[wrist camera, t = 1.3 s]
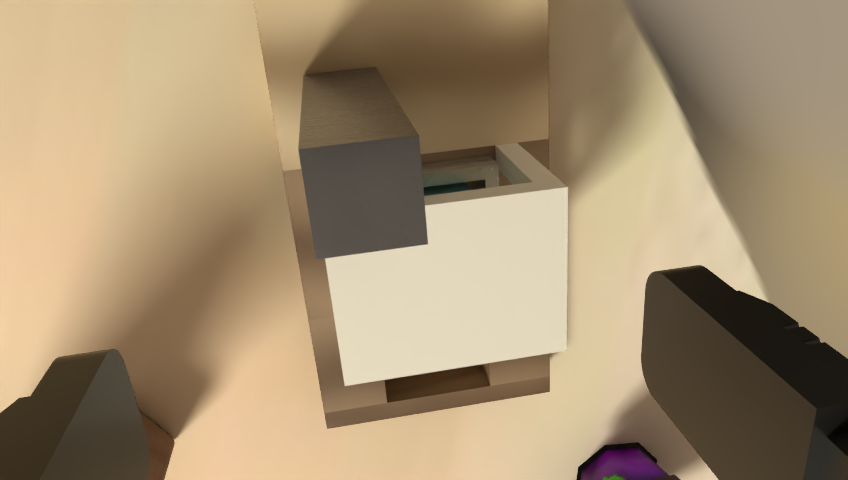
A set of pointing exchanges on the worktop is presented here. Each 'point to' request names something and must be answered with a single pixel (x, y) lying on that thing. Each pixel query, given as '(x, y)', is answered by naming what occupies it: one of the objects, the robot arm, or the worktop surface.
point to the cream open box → (461, 281)
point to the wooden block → (157, 449)
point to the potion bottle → (622, 464)
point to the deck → (439, 141)
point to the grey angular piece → (368, 166)
